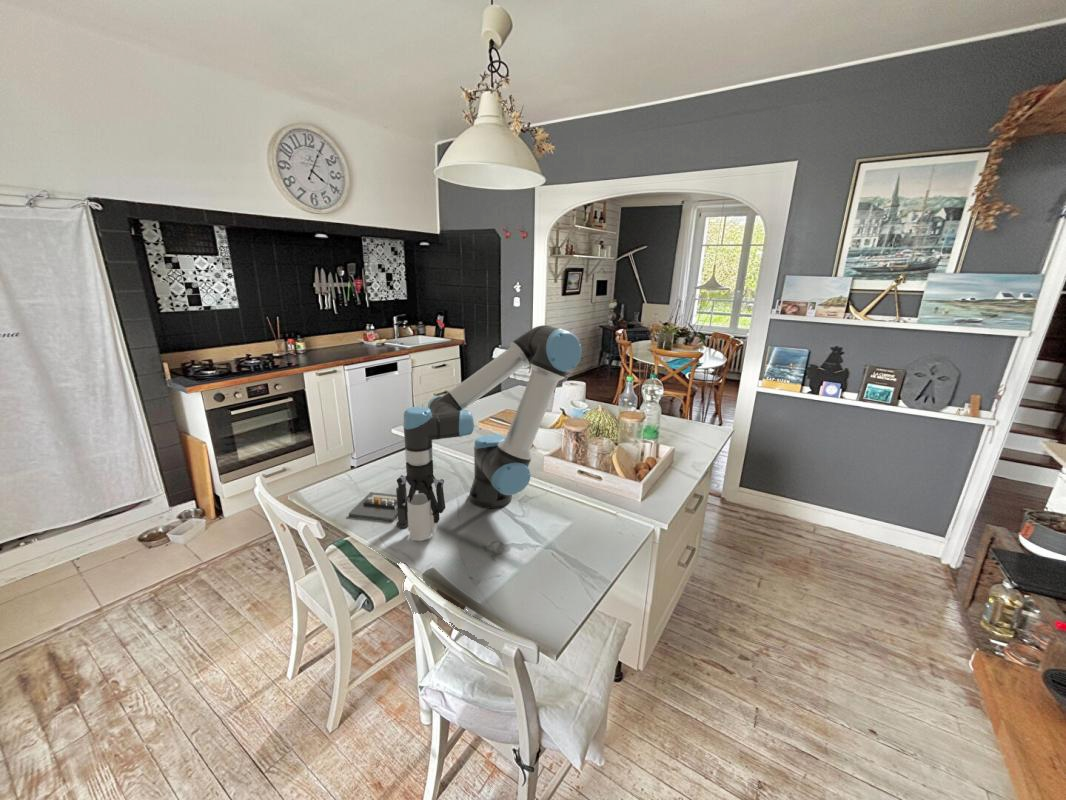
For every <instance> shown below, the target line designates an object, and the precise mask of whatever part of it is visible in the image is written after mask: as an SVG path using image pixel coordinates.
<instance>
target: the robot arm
mask: <svg viewBox="0 0 1066 800" xmlns="http://www.w3.org/2000/svg"><path fill="white" fill-rule="evenodd" d="M509 345H510V347H509V348H507V349H506V350H505V351H503V352H502V353H500V354H499V355H497V357H495V358H493V359H492V360H491V361H490V362H488V363H487V364H485V365H484V366H482V367H481V368H480V369H478V370H477V371H476V372H474V373H473V374H472V375H470V376H469V377H467V378H466V379H464V380H463V381H461V382H460V383H459V384H458V385H456V386H455V387H453V388H452V389H451V390H449V391H448V392H447V393H445V394H443V395H438V396H434V397H432V398H431V399H430V400H429V402H428V404H427V407H426V406H412V407H409V408H407V409H406V410H404V413H403V424H402V426H403V436H404V437H403V438H404V451H405V452H404V453H405V470H406V471H405V472H406V475H402V474H401V475H400V476H399V477H398V478H397V479H396V483H397V486H398V487H397V488H398V508H399V509H401V508H402V509H404V511H405V519H406V520H408V527H407V528H408V529H407V530H408V532H410V530H409V518H408V506H407V500H406V503H405V494H406V491H407V484H406V483H408V485H409V490H408V494H407V496H408V497H407V499H408V498H410V502H411V500H412V498H413V496H414V495H415V494H416V492H417V491H418V490H420V491H423V492H424V494H425V495H426V497H427V499H428V502H429V501H430V500H431V509H432V513H431V535H434V534H435V533H436V531H437V529H438V522H439V521H440V514H443V512H444V511H445V509H446V501H445V494H444V484H445V480H444V479H442V478H441V479H437V478H436V477H435V475H434V460H433V458H434V457H433V455H434V452H433V441H437V440H442V439H443V440H445V439H451V438H462V437H465V436H470V435H472V434H473V432H474V428H475V421H474V416H473V413H472V412H471V411H470V410H467V408H468V407H470V406H471V405H473V404H474V403H475V402H477V401H478V400H479V399H480V398H482V397H483V396H485V395H486V394H488V393H489V392H490V391H492V390H493V389H494V388H495V387H497V386H498V385H500V384H501V383H503V382H504V381H505V380H506V379H508V378H509V377H510V376H512V375H513V374H515V373H516V372H517V371H518V370H519V371H520V369H522V368H523V367H526V368H527V367H531V369H532V372H531V374H530V377H529V379H528V381H527V384H526V387H525V389H524V391H523V394H522V396H521V399H520V401H519V404H518V406H517V409H516V411H515V414H514V417H513V419H512V421H511V424H510V427H509V429H508V430H507V431H508V432H507V433H506V436H504V435H500V434H489V435H488V434H486V435H482V436H479V437H477V438H476V439H475V440H474V444H473V445H474V446H473V451H474V453H473V454H474V457H473V461H474V464H473V466H474V468H473V469H474V473H473V474H474V478H473V481H472V484H471V487H470V490H469V500H470V502H471V503H472V504H473V505H474V506H477V507H479V508H483V509H496V508H501V507H503V506H506V505H508V504H509V503H510V502H511V501H512V499H513V495H517V494H518V493H520V492H522V491H523V490H525V489H526V487H527V486H528V485H529V483H530V481H531V475H532V474H531V471H530V468H529V465H530V463H531V461H532V459H533V456H532V454H531V452H530V450H531V449H532V445H533V444H534V441H535V439H536V436H537V434H538V432H539V429H540V427H541V424H542V422H543V420H544V417H545V415H546V412H547V410H548V407H549V404H550V402H551V400H552V398H553V395H554V392H555V390H556V388H557V385H558V383H559V381H562V380H564V379H566V376H567V373H568V372H569V371H571V370H572V369H574V368H576V367H577V366H578V365H579V362H580V360H581V358H582V352H583V351H582V344H581V341H580V340H579V338H578V337H577V335H575V334H574V333H572V332H571V331H568V330H567V329H563V328H558V327H553V326H550V325H545V324H544V325H543V324H542V325H539V326H538V325H537V326H536V327H533V328H531V329H529V330H528V331H526V332H524V333H523V334H522V335H520V336H519V337H517V338H516V339H514V340H513V341H512V342H510V344H509ZM433 484H434V488H435V492H436V495H435V493H434V490H433Z"/></svg>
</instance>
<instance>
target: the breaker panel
mask: <svg viewBox="0 0 1066 800" xmlns="http://www.w3.org/2000/svg"><path fill="white" fill-rule="evenodd" d="M407 497H408V495H407ZM348 517H350V518H356V519H366V520H374V521H382V522H383V521H384V522H392V523H393V522H395V519H397V518H398V510H397V495H396V494H392V493H390V494H389V493H381V492H373V491H371V492H369V493H368V494H367V495H366V496H365V497H364V498H362V500H360V502H358V504H357V505H356V506H354V508H352V510H350V512H348Z"/></svg>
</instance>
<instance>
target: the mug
mask: <svg viewBox="0 0 1066 800" xmlns="http://www.w3.org/2000/svg"><path fill="white" fill-rule="evenodd" d="M407 506H408V518H409V530H410V531H409V537H410V539H412V540H413V541H417V542H421V541H425V540H427V539H429V538H430V537H431V536H432V534H431V513H432V509H431V500H430V501H429V502H428V499H427V497H426V495H425V494H418V493H415V495H414V496H413V498H412V500H411V502H410V498H408V499H407Z"/></svg>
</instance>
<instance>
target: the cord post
mask: <svg viewBox="0 0 1066 800" xmlns="http://www.w3.org/2000/svg"><path fill="white" fill-rule="evenodd" d="M395 493H396V494H395V495H397V510H398V516H397V522H396V528H397V529H407V528H408V520H406V519H405V511H404V509H402V508H401V509H399V508H398V487H396V489H395ZM407 493H408V491H407V490H406V494H405V503H406V500H407V496H408V494H407Z"/></svg>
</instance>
